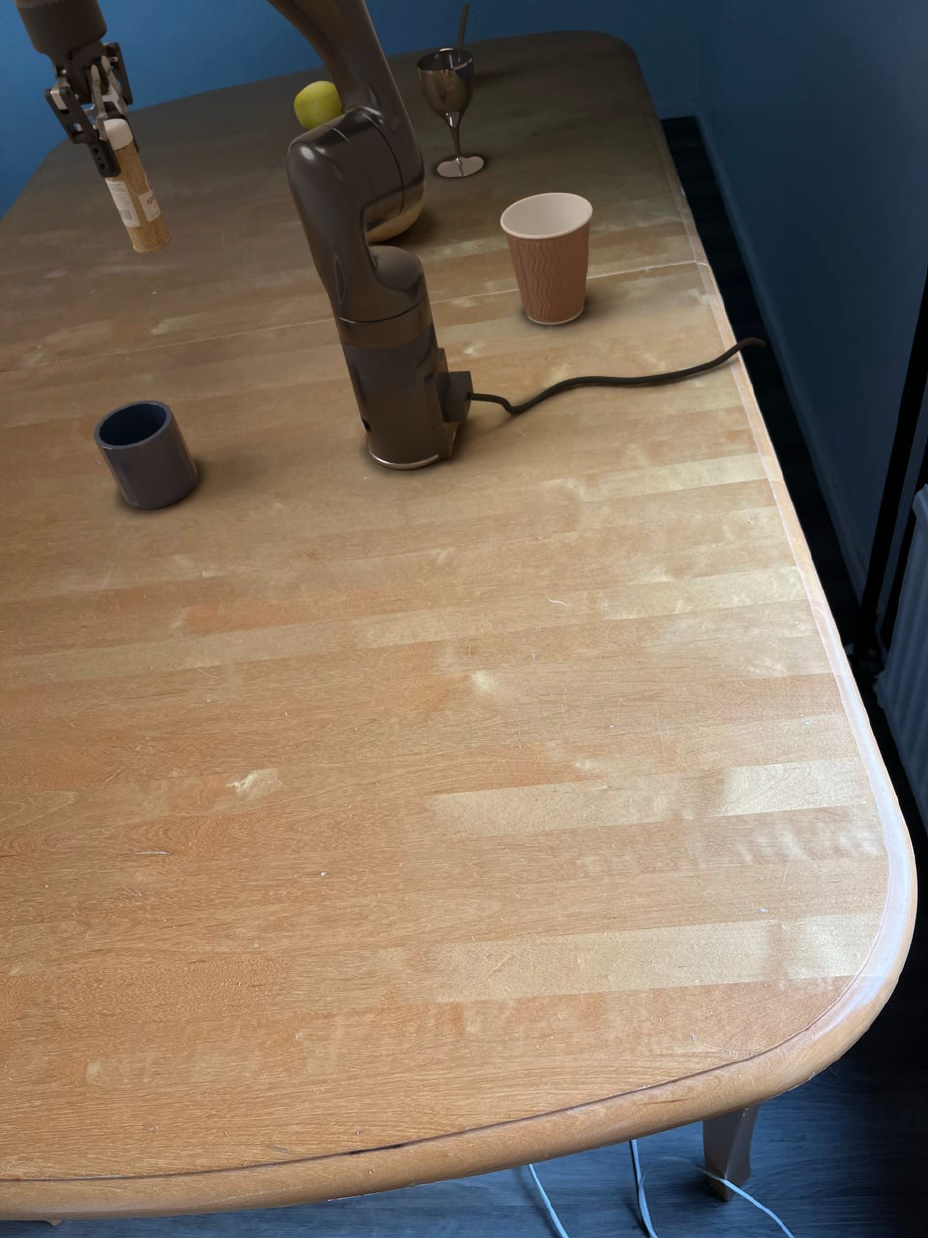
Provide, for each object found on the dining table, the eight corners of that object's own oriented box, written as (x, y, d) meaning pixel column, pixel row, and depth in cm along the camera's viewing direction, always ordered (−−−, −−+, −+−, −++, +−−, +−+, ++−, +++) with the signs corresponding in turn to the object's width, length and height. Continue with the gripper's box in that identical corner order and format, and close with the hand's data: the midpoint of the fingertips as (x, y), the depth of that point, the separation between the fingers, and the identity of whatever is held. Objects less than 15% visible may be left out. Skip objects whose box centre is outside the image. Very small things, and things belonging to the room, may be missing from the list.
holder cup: (207, 459, 112) (182, 398, 106) (183, 508, 107) (155, 447, 101) (139, 460, 114) (111, 401, 108) (112, 509, 109) (81, 450, 103)
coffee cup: (615, 300, 122) (611, 202, 113) (561, 342, 118) (552, 244, 109) (549, 279, 128) (540, 184, 119) (494, 318, 123) (481, 223, 114)
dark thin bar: (428, 101, 174) (415, 23, 165) (424, 88, 178) (411, 11, 169) (482, 89, 173) (472, 11, 165) (477, 76, 178) (467, 0, 169)
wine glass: (496, 157, 154) (483, 50, 143) (468, 180, 150) (452, 72, 139) (452, 152, 158) (436, 47, 147) (424, 175, 154) (405, 68, 143)
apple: (353, 138, 167) (342, 87, 161) (299, 146, 168) (286, 96, 162) (357, 119, 172) (346, 69, 167) (305, 127, 174) (292, 77, 168)
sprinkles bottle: (178, 244, 117) (132, 123, 107) (141, 259, 116) (91, 138, 106) (164, 231, 120) (118, 113, 110) (128, 246, 119) (79, 128, 109)
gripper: (54, 8, 93) (127, 192, 106) (114, -39, 103) (175, 134, 115) (-17, 19, 95) (63, 198, 107) (48, -29, 105) (115, 141, 117)
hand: (121, 164), depth 111 cm, fingers closed on sprinkles bottle, 4 cm apart
